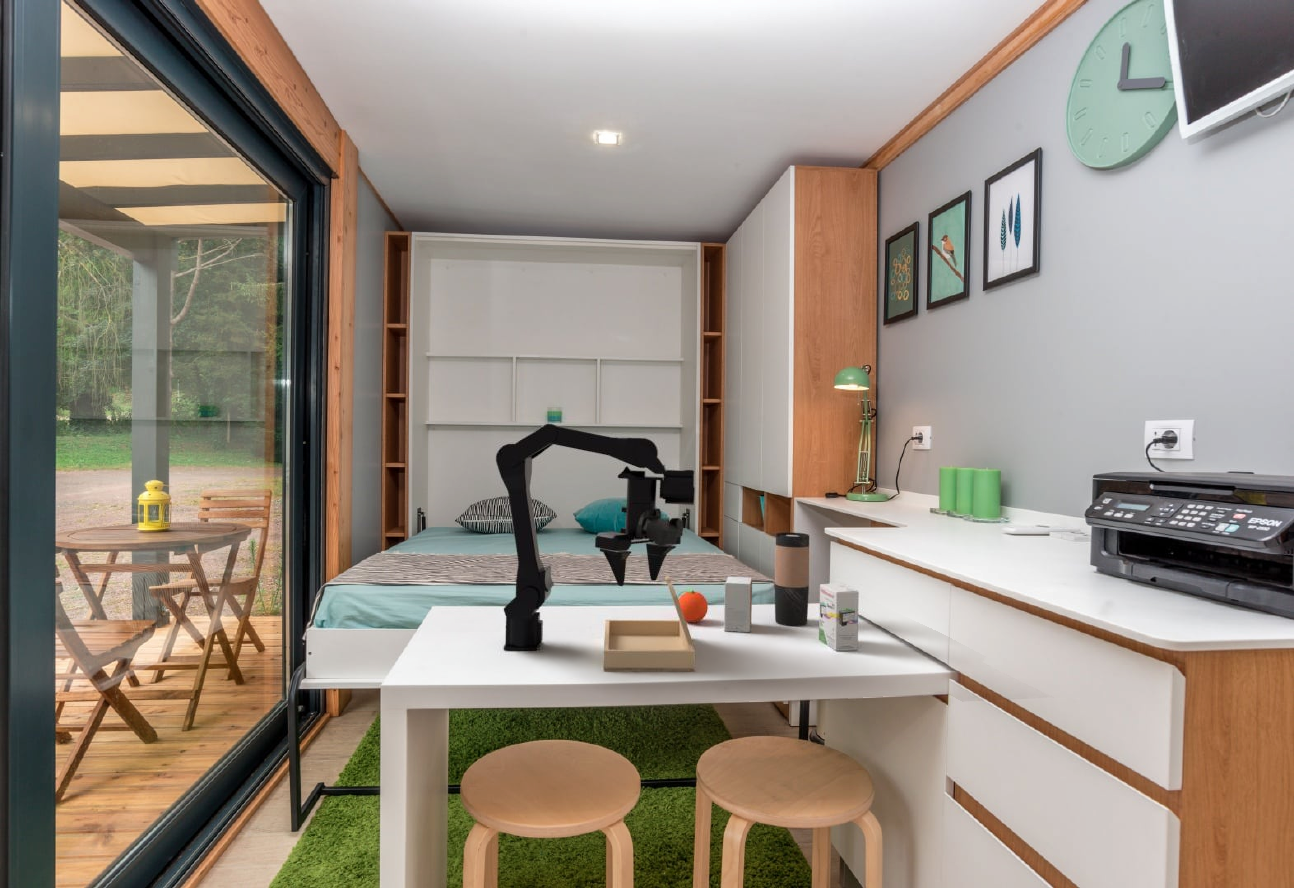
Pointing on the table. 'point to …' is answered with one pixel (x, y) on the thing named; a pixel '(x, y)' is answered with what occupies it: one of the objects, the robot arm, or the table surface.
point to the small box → (738, 604)
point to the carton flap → (679, 610)
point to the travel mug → (791, 578)
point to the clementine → (693, 606)
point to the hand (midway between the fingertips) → (637, 583)
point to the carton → (647, 646)
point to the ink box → (839, 616)
